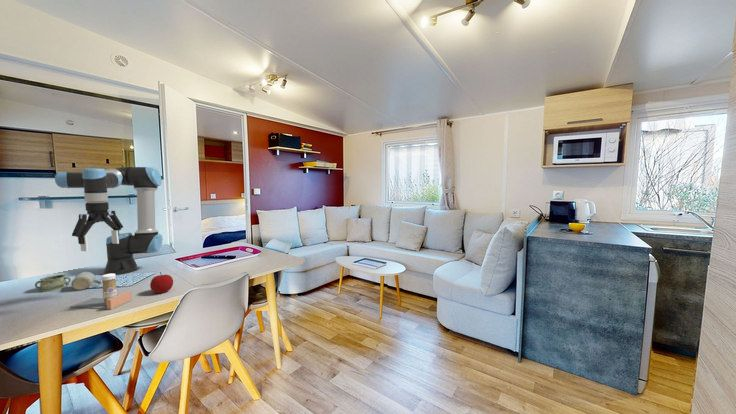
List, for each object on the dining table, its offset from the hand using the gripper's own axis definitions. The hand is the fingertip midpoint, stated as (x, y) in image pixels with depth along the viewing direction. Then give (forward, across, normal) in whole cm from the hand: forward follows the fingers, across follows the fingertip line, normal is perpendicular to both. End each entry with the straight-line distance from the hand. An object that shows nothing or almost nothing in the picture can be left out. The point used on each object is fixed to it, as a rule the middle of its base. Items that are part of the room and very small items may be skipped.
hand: (101, 247), depth 126 cm
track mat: (+24, +7, +6) cm, 26 cm away
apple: (+25, -9, +21) cm, 34 cm away
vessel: (+26, -6, -36) cm, 45 cm away
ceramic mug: (+26, -10, -22) cm, 35 cm away
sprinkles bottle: (+24, +7, +10) cm, 27 cm away
